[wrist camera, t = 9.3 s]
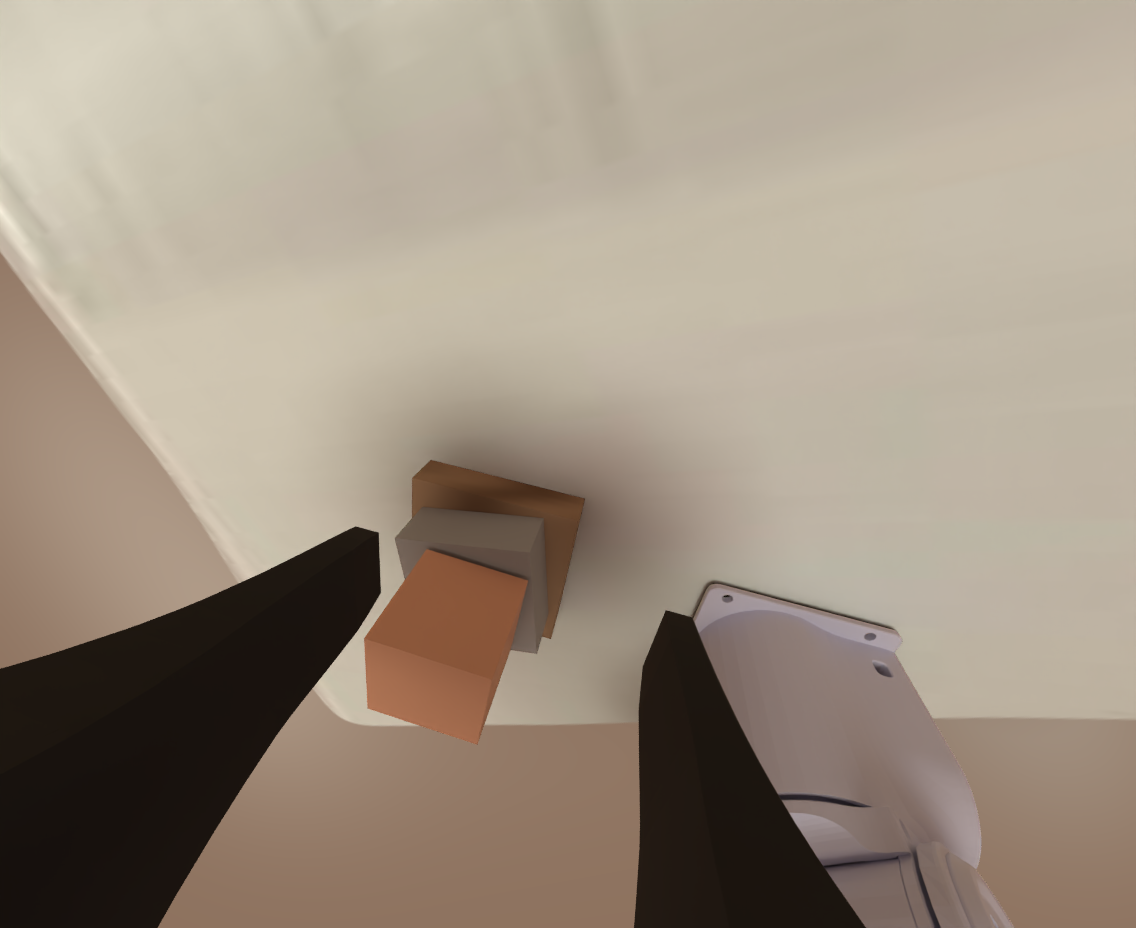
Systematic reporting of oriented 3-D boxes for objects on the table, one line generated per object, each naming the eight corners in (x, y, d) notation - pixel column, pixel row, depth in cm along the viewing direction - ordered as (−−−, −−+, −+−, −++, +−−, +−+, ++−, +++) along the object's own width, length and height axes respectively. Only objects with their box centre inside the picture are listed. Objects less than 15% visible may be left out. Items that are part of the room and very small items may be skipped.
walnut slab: (586, 492, 22) (578, 521, 20) (560, 605, 26) (550, 638, 23) (436, 454, 22) (412, 477, 20) (432, 569, 26) (411, 599, 24)
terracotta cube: (528, 580, 18) (492, 679, 14) (511, 645, 20) (477, 744, 17) (426, 549, 18) (364, 638, 14) (422, 616, 21) (367, 708, 17)
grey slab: (543, 518, 20) (529, 552, 18) (548, 613, 23) (536, 653, 20) (422, 506, 21) (394, 538, 19) (441, 599, 24) (419, 636, 21)
